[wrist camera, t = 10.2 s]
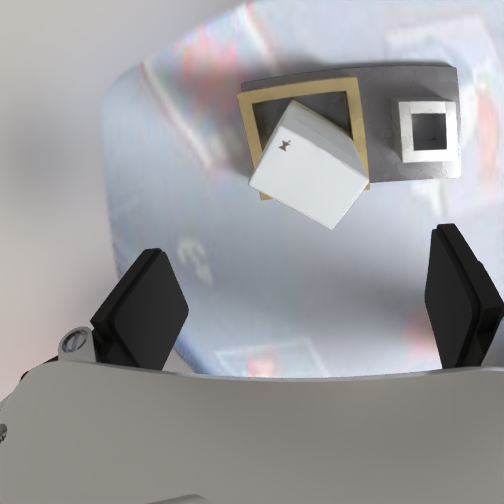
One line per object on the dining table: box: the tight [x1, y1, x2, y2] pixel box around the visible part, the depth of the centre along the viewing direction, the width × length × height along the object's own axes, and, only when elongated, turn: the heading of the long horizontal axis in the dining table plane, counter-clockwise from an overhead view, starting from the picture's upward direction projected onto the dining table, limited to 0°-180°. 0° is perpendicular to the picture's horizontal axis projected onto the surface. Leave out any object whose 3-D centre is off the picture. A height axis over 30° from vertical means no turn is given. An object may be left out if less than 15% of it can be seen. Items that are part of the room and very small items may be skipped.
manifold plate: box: [237, 66, 461, 200], centre depth 25 cm, size 20×11×4 cm, turn 103°
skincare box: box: [248, 99, 369, 230], centre depth 22 cm, size 6×4×12 cm
